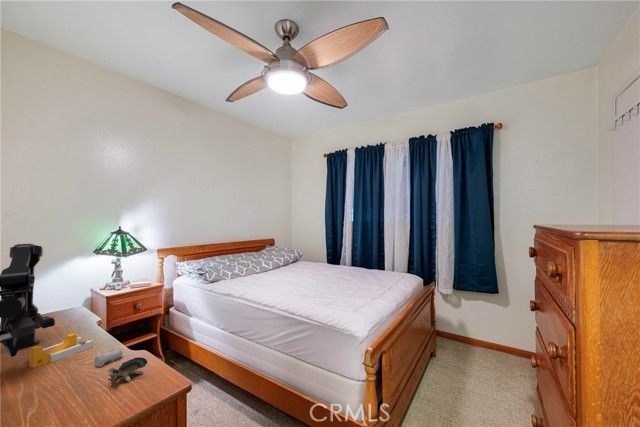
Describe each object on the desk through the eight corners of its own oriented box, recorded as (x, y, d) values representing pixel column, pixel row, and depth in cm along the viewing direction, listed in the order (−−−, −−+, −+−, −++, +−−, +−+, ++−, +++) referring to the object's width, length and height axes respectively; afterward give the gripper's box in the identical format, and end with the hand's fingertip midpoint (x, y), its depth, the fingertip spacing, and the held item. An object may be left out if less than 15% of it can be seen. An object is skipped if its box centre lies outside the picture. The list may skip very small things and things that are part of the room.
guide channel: (38, 356, 95) (39, 347, 95) (79, 342, 106) (79, 334, 106) (52, 362, 91) (52, 352, 91) (92, 347, 102) (93, 338, 102)
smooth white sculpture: (117, 358, 96) (125, 357, 94) (91, 369, 89) (99, 368, 87) (116, 346, 97) (123, 345, 95) (89, 356, 90) (97, 355, 88)
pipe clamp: (69, 349, 101) (69, 332, 101) (76, 351, 99) (76, 334, 100) (26, 365, 89) (26, 347, 90) (33, 368, 88) (34, 349, 88)
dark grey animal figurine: (121, 388, 76) (152, 367, 84) (110, 367, 76) (141, 348, 84) (111, 395, 79) (142, 374, 87) (100, 374, 80) (131, 355, 88)
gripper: (-21, 323, 75) (-23, 378, 74) (63, 304, 92) (62, 348, 91) (-36, 317, 79) (-38, 369, 79) (47, 300, 96) (46, 342, 96)
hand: (12, 356), depth 86 cm, fingers closed
